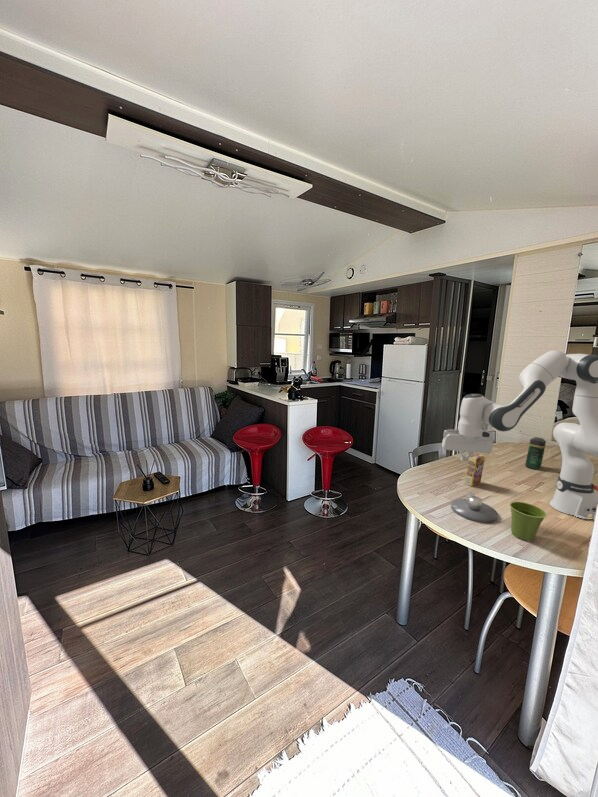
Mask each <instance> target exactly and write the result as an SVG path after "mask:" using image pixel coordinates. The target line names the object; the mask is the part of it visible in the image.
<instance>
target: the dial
mask: <svg viewBox="0 0 598 797" xmlns="http://www.w3.org/2000/svg"><path fill="white" fill-rule="evenodd" d="M466 499H467V501H468V507H469V508H470V509H472V510H476V511H479V510H481V504H482V503H483V499H481V497H479V496H476V495H475V493H473V491H467V496H466Z"/></svg>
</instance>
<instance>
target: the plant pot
mask: <svg viewBox="0 0 598 797" xmlns="http://www.w3.org/2000/svg"><path fill="white" fill-rule="evenodd" d="M509 507H510V513H511V525H510V527H511V530H510V531H511V534H512V535H513V536H514V537H515V538H518V539H519V540H520V539H522V540H524V541H526V540H528V541H529V542H530V541H531V540H532V541H533V540H534V539H535V537H536V535H537V532H538V530H539V528H540V525H541V524H542V523H543V521H544V518H547V517H548V514H547V512H546V511H545V510H543V509H542V508H540V507H538V506H536V505H533V504H530V503H528V502H523V501H511V502H509ZM528 541H527V542H528ZM532 541H531V542H532Z"/></svg>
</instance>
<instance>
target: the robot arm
mask: <svg viewBox="0 0 598 797" xmlns="http://www.w3.org/2000/svg"><path fill="white" fill-rule="evenodd" d="M557 378H563V379H568V380H572V381H575V383H576V386H575V390H574V394H573V395H574V396H573V402H572V409H571V410H572V414H573V415H574V416H575V417H576V418H577V419H578V422H579V424H578V423H575V422H560V423H558V424H557V425H556V426H555V427H554V428H553V429H552V430H553V431H552V436H553V439H554V440H555V442H557V444H558V447H559V449H560V454H561V469H560V473H559V475H558V478H557V482H556V489H555V492H554V494H553V497H552V498H551V500H550V502H549V505H550V507H552V508H553V509H554V510H556V511H559V512H561V513H564V514H565V515H569V514H570V516H572V515H574V516H573V517H575V516H576V517H575V518H577V517H579V518H582V519H581V520H583V519H587V518H589V517H588V515H589V514H592V517H590V518H592V519H593V520H592V521H595V520H594V515H595V512H596V506H597V504H598V494H597V493H596V492H595V491H597V492H598V485H597V484H593V483H592V482H593V477H594V473H595V472H594V471H595V466H594V464H593V463H592V461H591V460H590V459H589V456H588V455H591V456H594V457H598V355H596V354H588V353H587V354H586V353H563V351H559V350H549V351H547V352H545V353H543V354H542V355H540V356H539V357H537V358H536V359H534V360H533V361H532V362H530V363H529V364H528V365H527V366H526V367H524V368H523V369H522V371H521V372H520V374H519V378H518V380H519V384H520V385H521V387H522V388H523V389H522V391H521V392H520V393H519V395H518V396H516V397H515V398H514V399H513V400H512V401H511V402H510V403H509V404H506V405H503V404H502V405H501V404H499V403H497V402H494V401H492V400H490V399H488V398H487V397H485V396H484V395H483V394H480V393H469V394H466V395H465V396H464V397H463V398H462V400H461V404H460V410H459V415H460V417H459V420H458V426H457V429H454V428H453V429H451V428H447V429H445V430H444V431H443V432H442V433H443V434H442V436H443V439H442V441H441V442H442V443H441V447H442V449H444V450H445V451H455V452H459V455H460V461H462V462H468V461H469V458H470V457H471V456H473V454H474V453H477V454H478V453H479V454H490V453H492V452H493V444H494V442H493V440H492V438H493V433H492V432H490V431H489V430H487V429H486V428H483V427H482V424H483V423H484V424H487V425H488V426H490V427H493V428H494V429H495V430H497V431H499V432H509V431H511V430H513V429H514V428H515V427H516V426H518V424H519V422H520V420H521V419H522V417H523V415H525V413H526V412H527V411H528V410H529V409H530V408H532V407H533V405H535V404H536V402H538V401H539V399H540V398H541V397H542V396H543V395H544V393H545V392H546V389H547V387H548V386H549V385H550V384H552V383H553V382H554V381H555V380H556V379H557ZM466 452H467V455H464V453H466ZM579 518H578V519H579Z"/></svg>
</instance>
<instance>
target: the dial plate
mask: <svg viewBox="0 0 598 797" xmlns="http://www.w3.org/2000/svg"><path fill="white" fill-rule="evenodd" d="M450 507H451V508H450V509H451V510H452V511H453V512H454V513H455V514H457V515H458V516H460V517H462V518H463V519H466V520H469V521H471V522H476V523H481V524H491V523H495V522H497V520H498V518H499V514H498V512H497V510H496V509H495V508H493V507H492V506H491V505H488V504H486V503H484V502H482V504H481V510H479V511H476V510H472V509H470V508H469V507H468V501H467V498H456V499H454V500H452V501H451V506H450Z"/></svg>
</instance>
